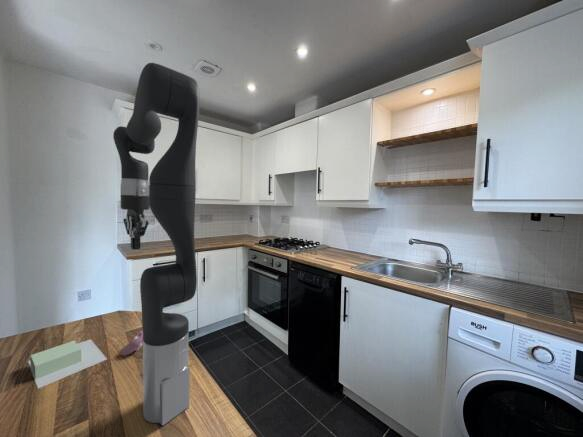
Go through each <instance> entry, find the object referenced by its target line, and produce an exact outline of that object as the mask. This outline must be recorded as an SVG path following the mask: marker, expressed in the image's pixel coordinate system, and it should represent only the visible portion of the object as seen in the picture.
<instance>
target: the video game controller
mask: <svg viewBox="0 0 583 437" xmlns="http://www.w3.org/2000/svg"><path fill="white" fill-rule="evenodd" d="M142 347H143V328H142V329H141V330H139V331H138V333H136V335H135V336H134V337H133V338H132V339H131V341H129V343H128V344H126V346H124V347H123V348H122V349H120V351H119V353H120V356H129V355H130V354H132V353H133V352H138V350H140V348H142Z"/></svg>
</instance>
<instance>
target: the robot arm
mask: <svg viewBox="0 0 583 437" xmlns="http://www.w3.org/2000/svg"><path fill="white" fill-rule="evenodd" d="M200 104H201V93H200V87H199V84H198V82H197V80H196V79H195V78H193V77H191V76H189V75H187V74H184V73H182V72H180V71H177V70H174V69H172V68H170V67H167V66H165V65H162V64H160V63H155V62H149V63H147V64H145V65H144V67H143V69H142V71H141V73H140V75H139V78H138V83H137V89H136V93H135V98H134V104H133V111H132V115H131V117H130V119H129V121H128V122H127V125H126V126H117V127H116V128H115V129H114V131H113V136H112V137H113V141H114V145H115V147H116V150H117V152H118V156H119V160H120V168H121V179H120V209H122V210H124V211H125V210H126V211H127V212H126V216H125V218H123V220H122V221H123V224H124V228H125V231H126V235H128V236H129V238H130V249H131V250H134V251H135V250H140V249H141V238H142V237H144V236H145V234H146V231H147V229H148V226H149V221H148V220H146V216H145V211H147V210H151V213H152V214H153V216H154V218H155V220H156V221H157V222H158V223H159V224H160V226H161V228H162V229H163V230H164V231H165V233H166V234H167V236H168V237H169V239H170V241H171V243H172V245H173V247H174V252H175V253H174V254H175V263H169V264H163V265H157V266H152V267H148V268H146V269H144V270H143V271H142V273H141V276H140V280H139V281H140V282H139V283H140V284H139V288H140V291H139V292H140V303H141V325H142V329H143V345H142V405H143V406H142V411H143V412H142V415H143V418H144V419H145V420H146V421H147V422H149V423H153V424H160V425H161V426H165V424H167V423H168V422H170V421H171V420H174V418H175V417H177V416H179V415H180V414H181V413H183V412H184V411H185V410H186V409H188V408H189V407H190V389H191V388H190V385H191V384H190V383H191V382H190V381H191V380H190V379H191V378H190V377H191V376H190V375H191V373H190V371H191V369H190V367H189V331H190V330H189V328H190V327H189V326H190V325H189V320H188V318H187V316H186V315H184V314H181V313H175V312H173V313H172V312H171V313H170V312H164V309H165V308H168V307H171V306H175V305H178V304H182V303H186V302H188V301H190V300H192V299H193V298H194V296H196V291H197V284H198V274H197V260H196V257H197V256H196V247H195V246H196V244H195V219H196V218H195V217H196V216H195V213H196V212H195V211H196V196H197V195H196V194H197V192H196V191H197V190H196V156H197V155H196V151H197V136H198V128H199V117H200ZM158 114H159V115H162V116H165V117H166V116H167V117H170V118H174V119H177V120H178V126H177V127H178V128H177V132H176V136H175V138H174V139H173V141H172V143H171V145H170V146H169V147H168V149H167V150H166V151H165V153H164V154H163V155H162V156H161V158H160V159H159V160H158V161H157V162H156V164H155V166H154V167H153V168H152V170H151V171H150V174H149V165H148V163H147V162H145V161H144V160H143V161H142V160H139V159H137V158H134V157H133V156H132V154H131V153H136V154H137V153H138V154H141V155H148V154H152V153H153V152H154V150H155V146H156V144H155V139H156V138H157V137H158V136H159V135H160V133H161V130H162V121H161V118H160V116H159V115H158Z"/></svg>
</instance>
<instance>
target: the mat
mask: <svg viewBox="0 0 583 437" xmlns="http://www.w3.org/2000/svg"><path fill="white" fill-rule="evenodd" d="M77 344H78V346H79V347H80V348H81V362H78V363H76V364H73V365H71V366H68V367H66V368H63V369H61V370H58V371H56V372H53V373H51V374H48V375H46V376H43V377H41V378H38V379H35V377H34V375H33V373H32V370H31V367H30V360H28V361H27V362H28V365H29V369H30V370H31V371H30V372H31V374H32V377H33V379H34V382H35V384H36V387H37V389H41V388H43V387H46V386H47V385H50V384H53V383H54V382H57V381H59V380H62V379H64V378H67V377H69V376H71V375H74V374H76V373H78V372H80V371H83V370H85V369H88V368H90V367H92V366H95V365H97V364H100V363H102V362H105V361H107V360H108V358H107V356H106V355H104V353H103V352H102V351H101V350H100V349H99V347H98V346H97V345H96V344H95V342H94V341H93V340H92V339H87V340H84V341H81V342H78V343H77Z"/></svg>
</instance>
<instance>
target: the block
mask: <svg viewBox="0 0 583 437" xmlns="http://www.w3.org/2000/svg"><path fill="white" fill-rule="evenodd" d="M29 358H30V359H29V361H30V366H29V368H30V367H31V368H30V370H32V371H31V374H32V373H33V374H32V376H33V375H34V377H35V379H38V378H41V377H43V376H46V375H48V374H51V373H53V372H56V371H58V370H61V369H63V368H66V367H68V366H71V365H73V364H76V363H78V362H81V348H80V347H79V346H78V343H77V341H76V340H72V341H68V342H66V343H63V344H60V345H57V346H54V347H51V348H48V349H46V350H42V351H39V352H36V353H33V354H30V357H29ZM34 377H33V378H34ZM35 379H34V380H35Z"/></svg>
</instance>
